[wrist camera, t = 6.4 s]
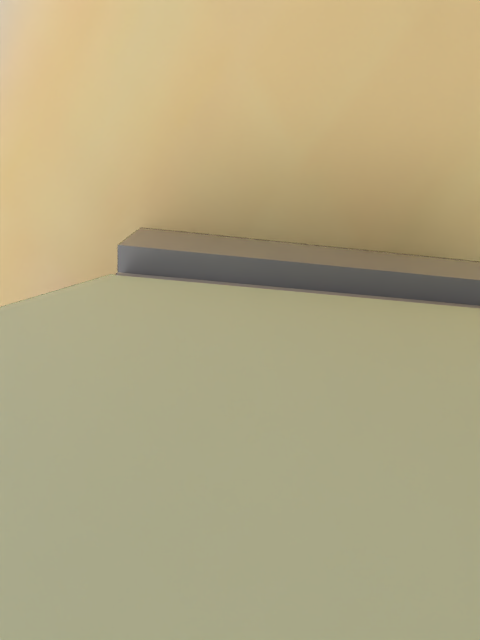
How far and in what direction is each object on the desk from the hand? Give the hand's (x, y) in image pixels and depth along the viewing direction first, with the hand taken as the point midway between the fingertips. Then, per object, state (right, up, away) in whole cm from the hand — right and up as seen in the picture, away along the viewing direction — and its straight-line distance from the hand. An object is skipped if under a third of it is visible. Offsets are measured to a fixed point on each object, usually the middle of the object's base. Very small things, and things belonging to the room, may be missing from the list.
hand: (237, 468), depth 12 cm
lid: (+3, +3, -9) cm, 10 cm away
